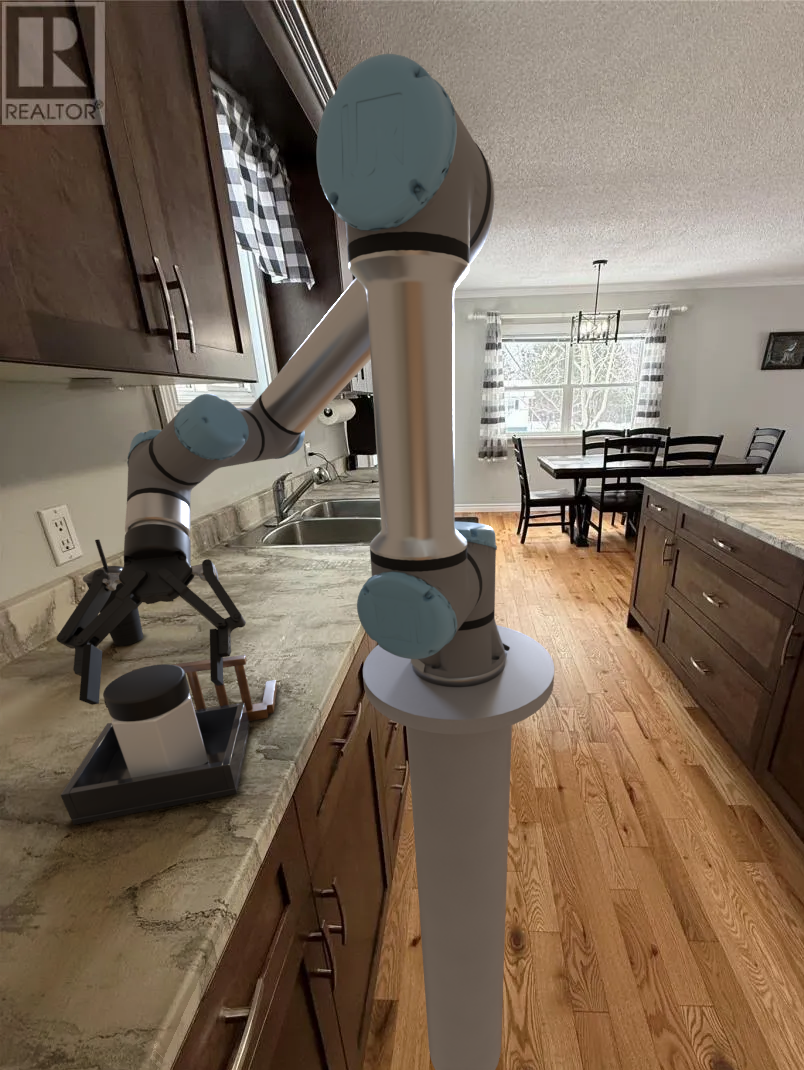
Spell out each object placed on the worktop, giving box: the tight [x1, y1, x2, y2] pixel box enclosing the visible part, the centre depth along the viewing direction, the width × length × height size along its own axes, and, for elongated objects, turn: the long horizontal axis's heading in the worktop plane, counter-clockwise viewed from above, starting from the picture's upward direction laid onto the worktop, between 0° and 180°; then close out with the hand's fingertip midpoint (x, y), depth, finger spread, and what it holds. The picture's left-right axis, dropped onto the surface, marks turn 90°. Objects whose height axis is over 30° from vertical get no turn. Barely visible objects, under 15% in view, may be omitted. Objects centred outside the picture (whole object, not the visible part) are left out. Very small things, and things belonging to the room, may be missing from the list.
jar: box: [102, 663, 208, 778], centre depth 57 cm, size 9×8×12 cm
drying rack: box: [131, 654, 278, 722], centre depth 69 cm, size 18×8×10 cm, turn 104°
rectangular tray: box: [60, 702, 251, 826], centre depth 59 cm, size 17×13×4 cm
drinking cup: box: [82, 539, 144, 647], centre depth 89 cm, size 8×8×20 cm
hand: (155, 692), depth 56 cm, fingers open, 13 cm apart
